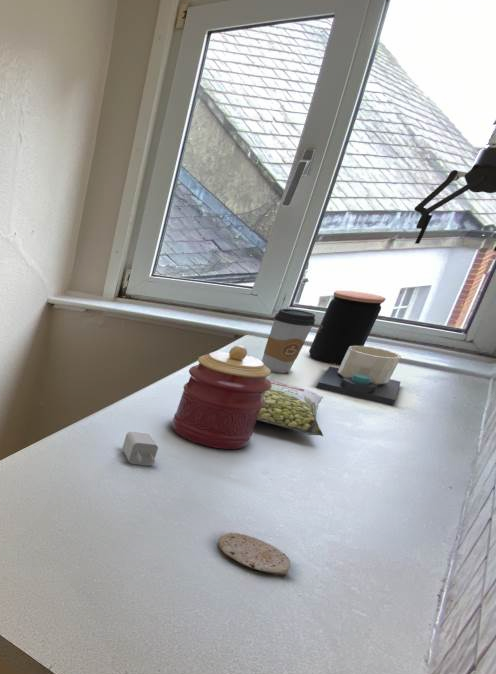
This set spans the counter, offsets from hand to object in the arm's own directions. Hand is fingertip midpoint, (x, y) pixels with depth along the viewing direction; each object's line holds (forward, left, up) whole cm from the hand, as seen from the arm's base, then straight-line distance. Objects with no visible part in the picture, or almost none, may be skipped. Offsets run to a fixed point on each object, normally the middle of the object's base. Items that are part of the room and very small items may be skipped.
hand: (454, 247), depth 131 cm
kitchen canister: (+22, +84, -32) cm, 93 cm away
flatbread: (+7, +121, -32) cm, 125 cm away
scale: (+5, +24, -32) cm, 40 cm away
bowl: (+5, +21, -30) cm, 37 cm away
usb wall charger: (+27, +106, -32) cm, 114 cm away
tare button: (+5, +31, -29) cm, 42 cm away
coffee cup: (+22, +25, -32) cm, 46 cm away
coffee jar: (+13, +1, -32) cm, 34 cm away
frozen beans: (+18, +63, -32) cm, 73 cm away
